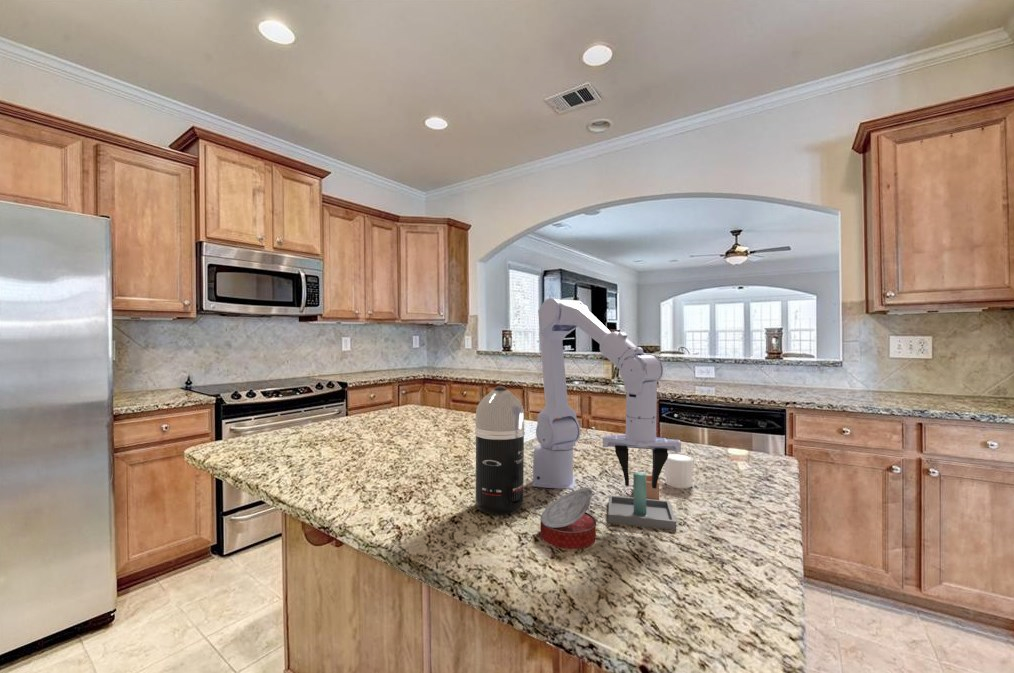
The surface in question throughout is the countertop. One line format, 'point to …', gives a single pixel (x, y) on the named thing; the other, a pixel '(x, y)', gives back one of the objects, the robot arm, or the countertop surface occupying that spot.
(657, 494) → the open box
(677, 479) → the white short cylinder
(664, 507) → the tray
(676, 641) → the countertop surface
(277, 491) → the countertop surface
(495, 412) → the black bottle
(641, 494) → the pin
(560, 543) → the canned food
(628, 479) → the robot arm
